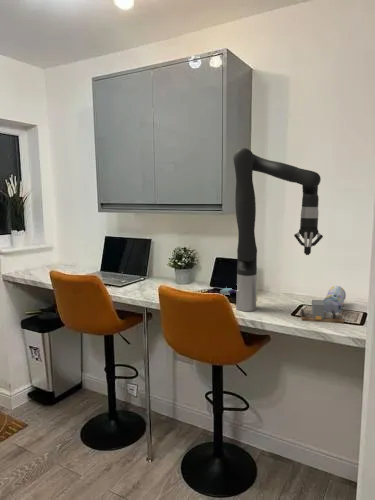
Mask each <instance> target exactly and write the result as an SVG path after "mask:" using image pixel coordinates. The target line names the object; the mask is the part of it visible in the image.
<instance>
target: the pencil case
mask: <svg viewBox="0 0 375 500" xmlns="http://www.w3.org/2000/svg"><path fill="white" fill-rule="evenodd" d="M346 297H347V294H346V290H345V289H344V288H343V287H342V286H339V285H336V286H332V287H330V288H329V289H328V291H327V294H326V295H325V297H324V298H323V299H322V300H323V303H324V312H332V311H334V312H335V313H341V311H342V309H343V305H344V302H345V300H346Z"/></svg>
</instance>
